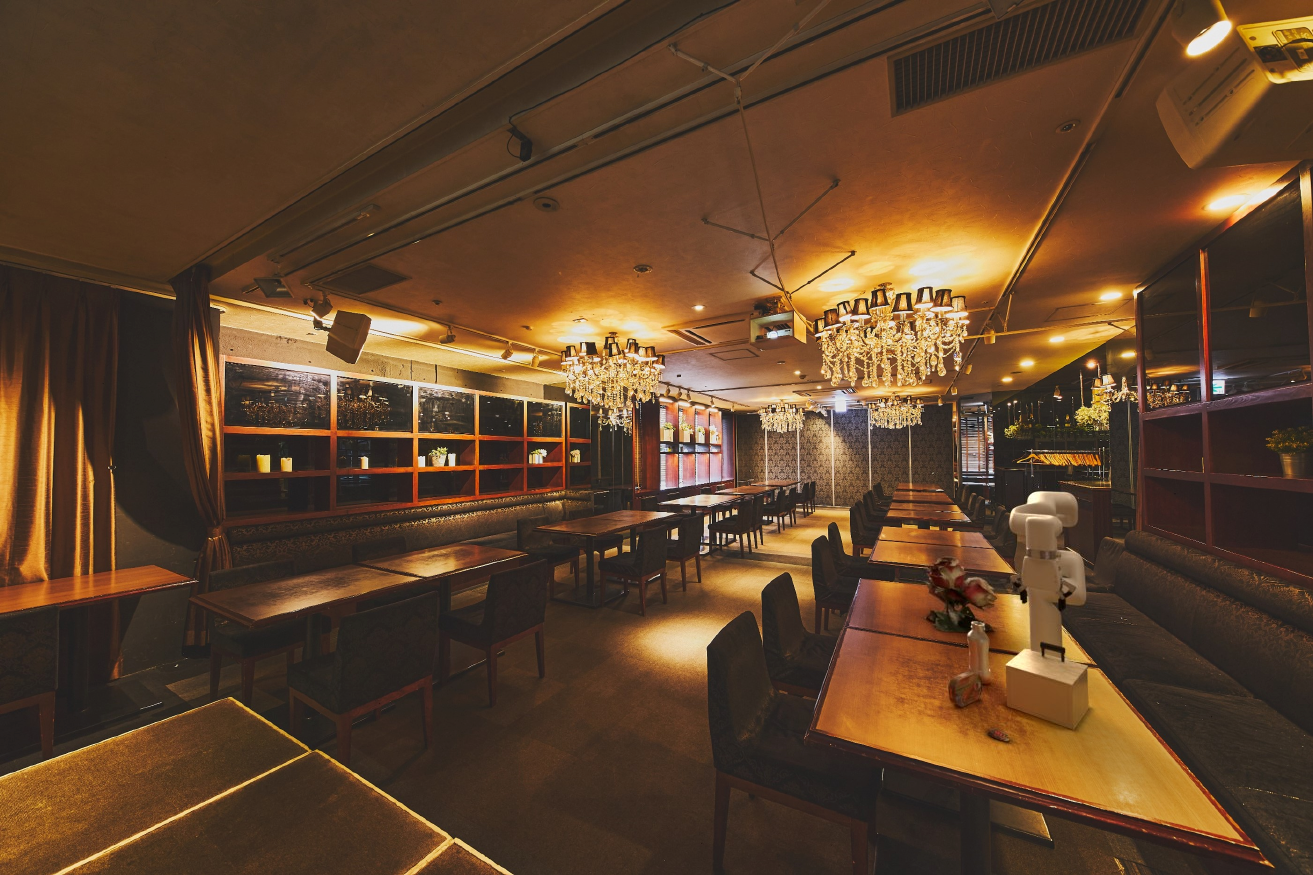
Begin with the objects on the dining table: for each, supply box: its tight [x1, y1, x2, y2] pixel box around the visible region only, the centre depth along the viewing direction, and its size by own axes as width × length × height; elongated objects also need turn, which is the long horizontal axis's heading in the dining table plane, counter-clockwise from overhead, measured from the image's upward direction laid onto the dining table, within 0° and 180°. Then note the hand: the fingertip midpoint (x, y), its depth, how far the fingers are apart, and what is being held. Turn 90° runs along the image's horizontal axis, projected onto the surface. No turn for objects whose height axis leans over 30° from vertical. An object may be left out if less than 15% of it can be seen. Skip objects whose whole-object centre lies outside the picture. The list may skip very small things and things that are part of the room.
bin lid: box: [1005, 642, 1089, 687], centre depth 146 cm, size 19×16×5 cm
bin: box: [1005, 667, 1090, 731], centre depth 146 cm, size 18×16×12 cm
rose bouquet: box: [923, 555, 998, 633], centre depth 218 cm, size 26×29×30 cm
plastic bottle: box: [966, 622, 992, 685], centre depth 162 cm, size 6×7×20 cm
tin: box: [947, 670, 984, 708], centre depth 150 cm, size 15×3×8 cm, turn 117°
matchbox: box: [987, 727, 1010, 742], centre depth 132 cm, size 5×5×1 cm
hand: (1042, 606), depth 155 cm, fingers open, 9 cm apart
